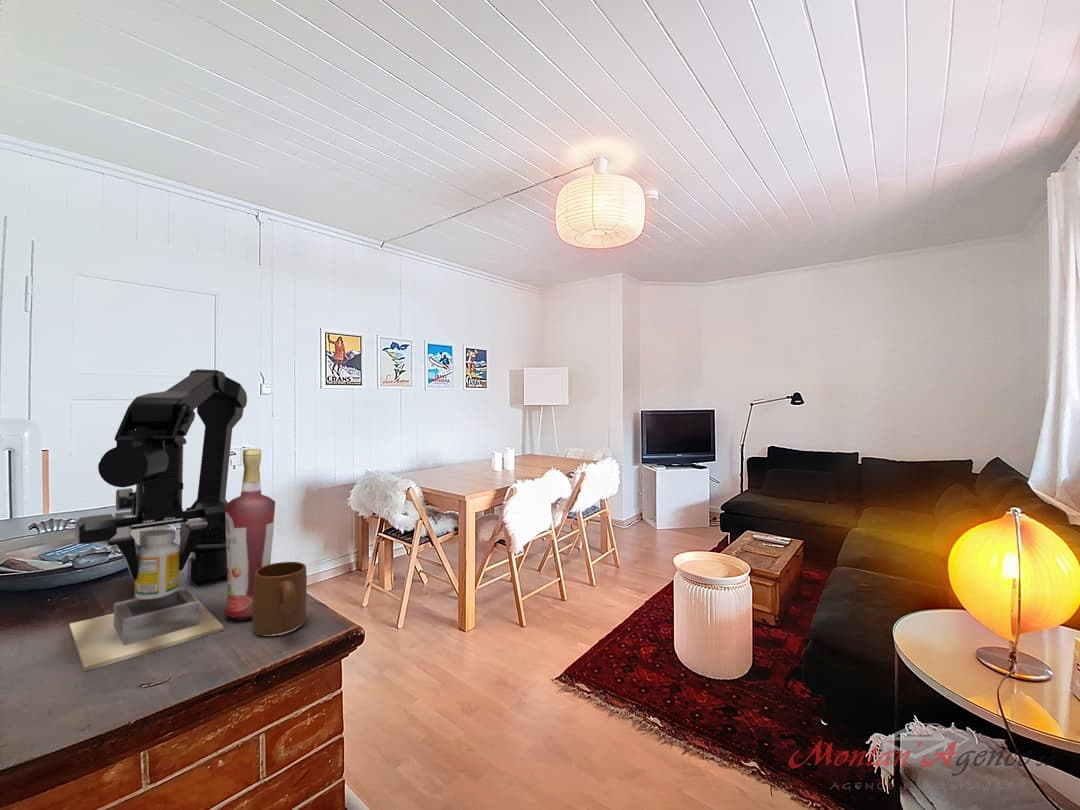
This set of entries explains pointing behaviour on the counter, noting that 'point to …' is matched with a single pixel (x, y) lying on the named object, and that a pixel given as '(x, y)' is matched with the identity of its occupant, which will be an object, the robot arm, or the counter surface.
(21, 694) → the counter surface
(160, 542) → the supplement bottle
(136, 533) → the keeper bolt
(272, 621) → the mug
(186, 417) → the robot arm
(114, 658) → the socket board
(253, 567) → the liquor
